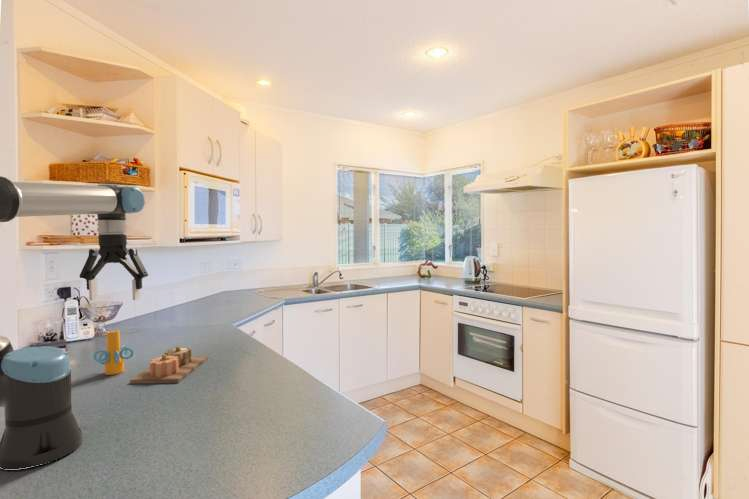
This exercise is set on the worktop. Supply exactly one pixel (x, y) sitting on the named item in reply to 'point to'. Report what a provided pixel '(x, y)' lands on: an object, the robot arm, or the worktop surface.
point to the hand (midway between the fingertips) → (115, 299)
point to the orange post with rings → (113, 354)
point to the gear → (164, 366)
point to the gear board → (185, 368)
